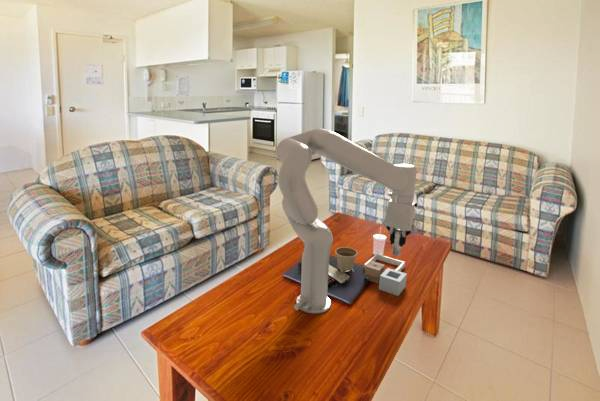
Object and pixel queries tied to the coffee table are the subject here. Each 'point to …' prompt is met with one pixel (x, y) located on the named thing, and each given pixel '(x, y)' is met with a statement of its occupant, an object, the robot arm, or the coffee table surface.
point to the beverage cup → (379, 243)
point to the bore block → (392, 281)
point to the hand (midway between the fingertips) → (397, 243)
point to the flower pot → (345, 258)
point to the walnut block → (374, 271)
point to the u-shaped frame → (388, 260)
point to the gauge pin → (397, 242)
